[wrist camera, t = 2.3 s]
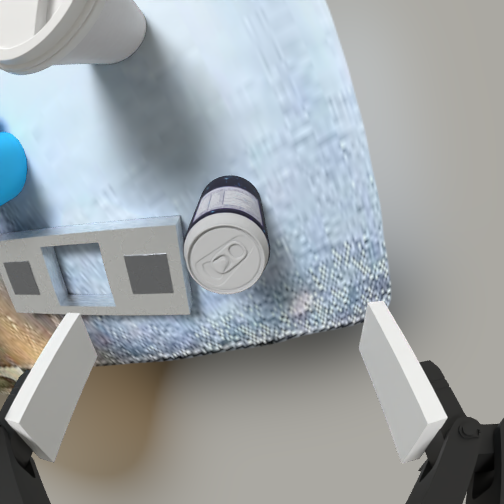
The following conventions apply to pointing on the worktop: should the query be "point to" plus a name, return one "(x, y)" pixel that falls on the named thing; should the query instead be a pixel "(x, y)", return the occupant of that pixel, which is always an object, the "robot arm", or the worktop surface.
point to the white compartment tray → (115, 262)
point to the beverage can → (227, 237)
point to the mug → (11, 167)
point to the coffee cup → (67, 33)
